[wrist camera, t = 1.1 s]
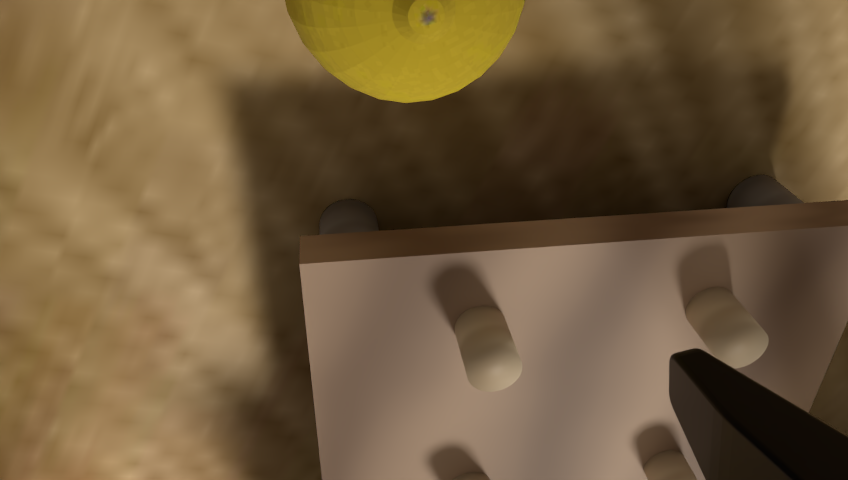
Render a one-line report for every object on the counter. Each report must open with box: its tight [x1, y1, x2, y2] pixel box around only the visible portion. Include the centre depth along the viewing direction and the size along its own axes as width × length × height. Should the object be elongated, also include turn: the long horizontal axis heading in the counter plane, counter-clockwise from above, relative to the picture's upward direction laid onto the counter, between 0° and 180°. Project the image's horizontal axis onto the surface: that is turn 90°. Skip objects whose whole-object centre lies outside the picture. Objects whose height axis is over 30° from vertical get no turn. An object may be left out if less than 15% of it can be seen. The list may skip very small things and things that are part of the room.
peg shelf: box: [299, 175, 848, 480], centre depth 25 cm, size 18×13×6 cm
